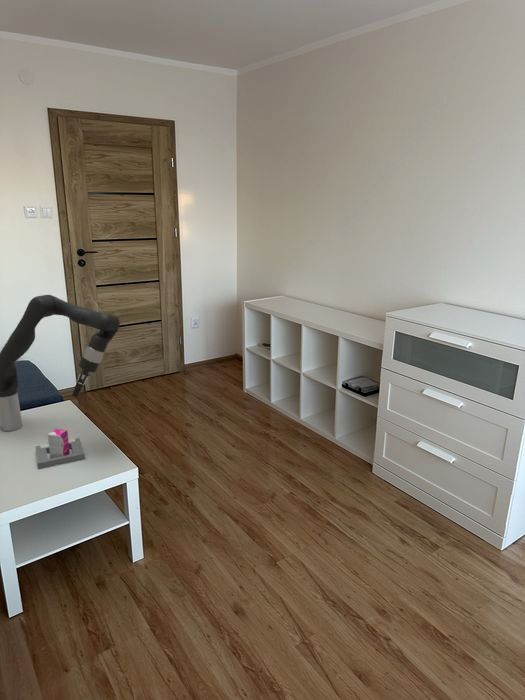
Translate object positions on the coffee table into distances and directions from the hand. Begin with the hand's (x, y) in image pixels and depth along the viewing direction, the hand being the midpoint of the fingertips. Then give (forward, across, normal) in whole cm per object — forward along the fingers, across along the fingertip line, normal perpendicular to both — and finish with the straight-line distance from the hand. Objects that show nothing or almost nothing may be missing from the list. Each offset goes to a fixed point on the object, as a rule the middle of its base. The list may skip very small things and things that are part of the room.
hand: (75, 393), depth 207 cm
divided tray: (+28, -1, +5) cm, 28 cm away
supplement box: (+28, -1, +5) cm, 29 cm away
